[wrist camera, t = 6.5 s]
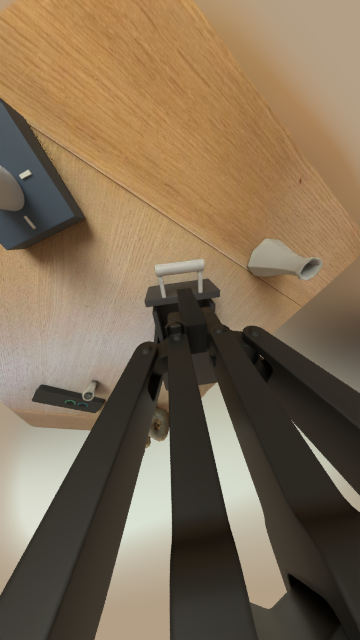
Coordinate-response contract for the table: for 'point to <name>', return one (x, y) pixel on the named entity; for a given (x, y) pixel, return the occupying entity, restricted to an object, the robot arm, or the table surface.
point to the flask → (281, 261)
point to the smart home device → (66, 399)
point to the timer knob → (10, 192)
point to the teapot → (158, 419)
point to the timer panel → (31, 186)
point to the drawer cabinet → (196, 367)
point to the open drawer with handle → (166, 295)
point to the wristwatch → (90, 391)
